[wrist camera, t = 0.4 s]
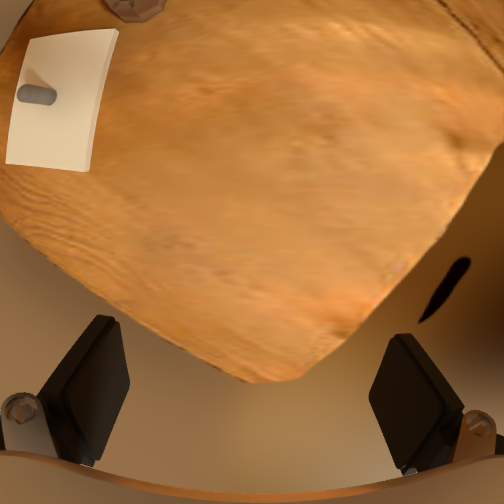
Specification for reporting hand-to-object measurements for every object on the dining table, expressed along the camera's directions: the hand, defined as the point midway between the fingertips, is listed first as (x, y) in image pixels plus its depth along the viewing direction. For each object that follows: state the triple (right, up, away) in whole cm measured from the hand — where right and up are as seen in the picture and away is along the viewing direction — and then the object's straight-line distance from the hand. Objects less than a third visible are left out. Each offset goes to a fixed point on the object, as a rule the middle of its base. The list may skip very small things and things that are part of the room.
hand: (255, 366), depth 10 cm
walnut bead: (-15, +37, +19) cm, 44 cm away
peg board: (-28, +25, +22) cm, 44 cm away
